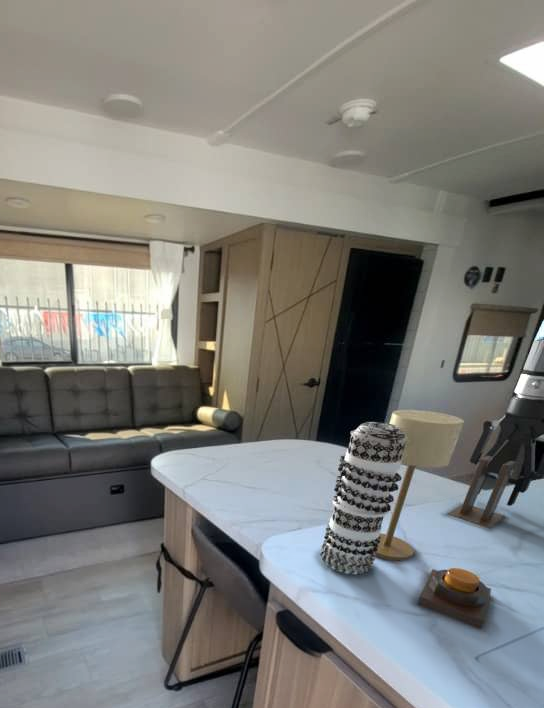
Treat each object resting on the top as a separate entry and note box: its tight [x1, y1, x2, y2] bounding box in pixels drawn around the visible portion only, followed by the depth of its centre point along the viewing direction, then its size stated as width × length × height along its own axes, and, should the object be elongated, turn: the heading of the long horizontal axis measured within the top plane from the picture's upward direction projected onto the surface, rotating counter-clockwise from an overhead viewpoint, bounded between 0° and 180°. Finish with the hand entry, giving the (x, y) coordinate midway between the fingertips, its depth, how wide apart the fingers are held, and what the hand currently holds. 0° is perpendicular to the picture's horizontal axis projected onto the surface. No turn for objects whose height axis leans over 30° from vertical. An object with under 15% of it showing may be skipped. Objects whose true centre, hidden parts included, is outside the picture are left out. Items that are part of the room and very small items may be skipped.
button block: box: [416, 568, 492, 630], centre depth 62 cm, size 10×8×4 cm
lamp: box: [374, 409, 465, 562], centre depth 71 cm, size 10×10×26 cm
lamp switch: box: [485, 460, 518, 486], centre depth 88 cm, size 12×6×2 cm, turn 128°
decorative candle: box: [319, 421, 409, 575], centre depth 66 cm, size 9×9×25 cm
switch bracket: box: [446, 456, 517, 529], centre depth 87 cm, size 10×8×14 cm
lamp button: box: [444, 567, 481, 592], centre depth 61 cm, size 4×4×2 cm
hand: (492, 498), depth 94 cm, fingers closed on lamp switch, 6 cm apart
